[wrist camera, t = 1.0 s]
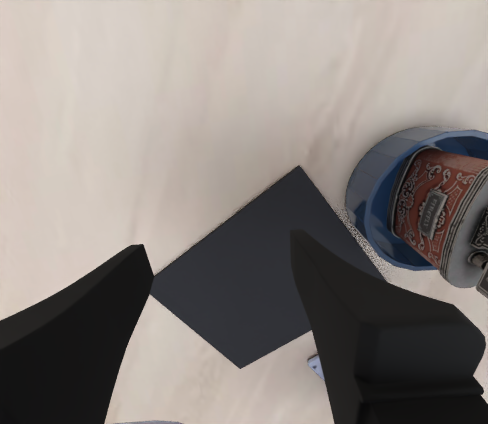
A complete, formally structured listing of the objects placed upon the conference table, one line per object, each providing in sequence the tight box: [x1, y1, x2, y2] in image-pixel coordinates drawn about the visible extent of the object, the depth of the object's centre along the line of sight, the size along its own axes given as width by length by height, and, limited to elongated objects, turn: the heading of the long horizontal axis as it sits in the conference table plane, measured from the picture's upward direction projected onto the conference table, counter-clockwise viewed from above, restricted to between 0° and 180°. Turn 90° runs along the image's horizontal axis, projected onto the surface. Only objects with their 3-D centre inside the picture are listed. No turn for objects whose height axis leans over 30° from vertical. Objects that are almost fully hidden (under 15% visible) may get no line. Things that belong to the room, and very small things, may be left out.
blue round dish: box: [346, 126, 488, 271], centre depth 20 cm, size 11×11×4 cm
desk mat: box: [150, 166, 386, 369], centre depth 25 cm, size 16×20×1 cm
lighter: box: [387, 145, 488, 298], centre depth 17 cm, size 8×3×10 cm, turn 179°
